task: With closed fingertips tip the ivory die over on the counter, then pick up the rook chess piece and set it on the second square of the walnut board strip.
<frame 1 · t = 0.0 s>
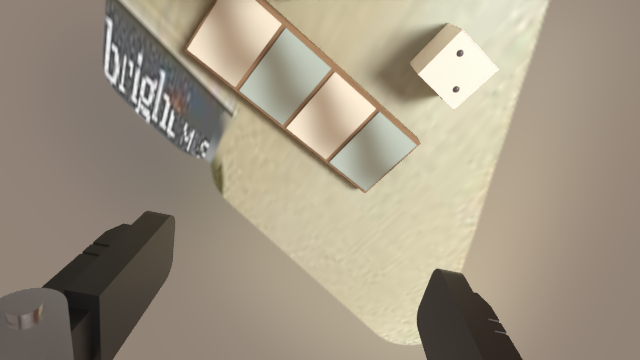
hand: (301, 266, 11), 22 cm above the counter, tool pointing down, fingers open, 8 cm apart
board: (309, 94, 31), on the counter
die: (444, 60, 29), on the counter
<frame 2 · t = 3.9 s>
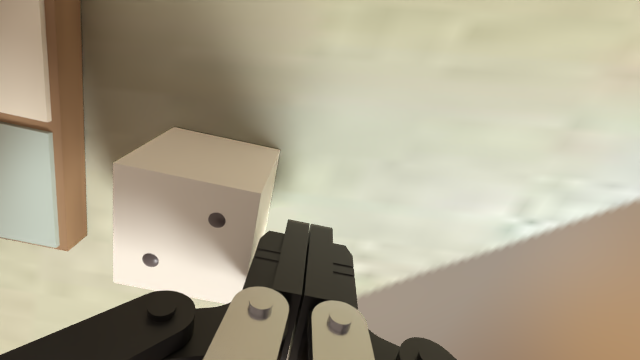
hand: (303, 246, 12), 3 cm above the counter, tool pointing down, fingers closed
die: (221, 186, 14), on the counter, touching gripper
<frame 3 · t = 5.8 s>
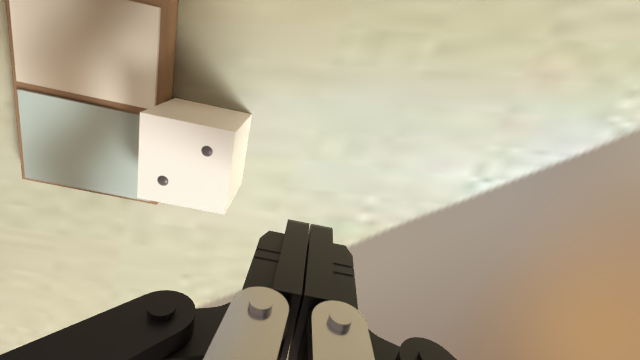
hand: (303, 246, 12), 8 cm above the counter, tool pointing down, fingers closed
die: (210, 141, 19), on the counter
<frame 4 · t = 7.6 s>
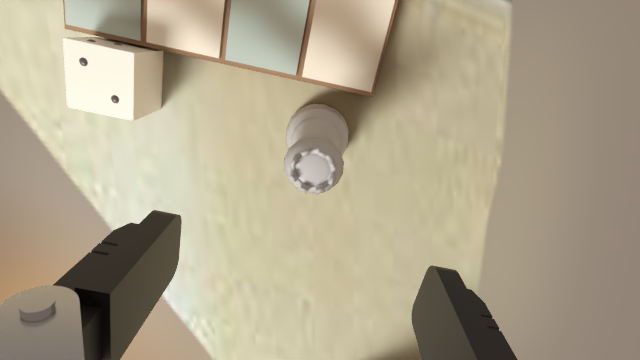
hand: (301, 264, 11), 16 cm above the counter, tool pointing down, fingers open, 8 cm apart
board: (233, 6, 23), on the counter
die: (133, 74, 25), on the counter
rook chess piece: (317, 132, 26), on the counter
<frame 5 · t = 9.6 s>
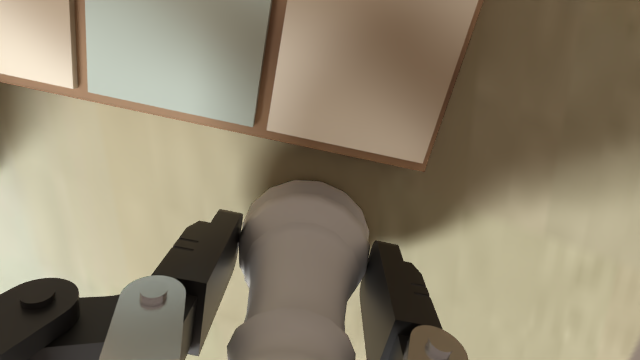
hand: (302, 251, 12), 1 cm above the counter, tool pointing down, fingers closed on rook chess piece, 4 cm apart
rook chess piece: (306, 228, 13), on the counter, touching gripper
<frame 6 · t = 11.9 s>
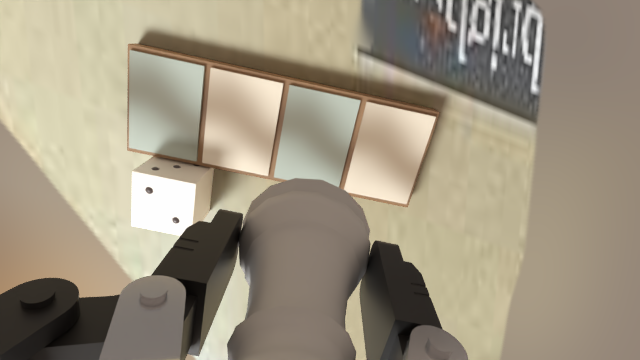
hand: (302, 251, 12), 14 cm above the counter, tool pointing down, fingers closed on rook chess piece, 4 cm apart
board: (280, 127, 25), on the counter
die: (185, 182, 27), on the counter
rook chess piece: (306, 227, 13), point 13 cm above the counter, touching gripper
when the fingers open (4 cm above the counter, at t = 14.1 s): rook chess piece drops 1 cm, resting on board.
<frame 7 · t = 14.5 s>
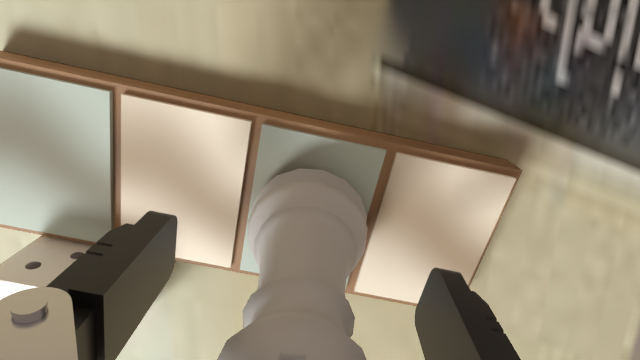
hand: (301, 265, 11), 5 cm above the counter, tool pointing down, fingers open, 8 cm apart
board: (252, 188, 15), on the counter
die: (106, 266, 17), on the counter
rook chess piece: (309, 214, 14), point 1 cm above the counter, touching board
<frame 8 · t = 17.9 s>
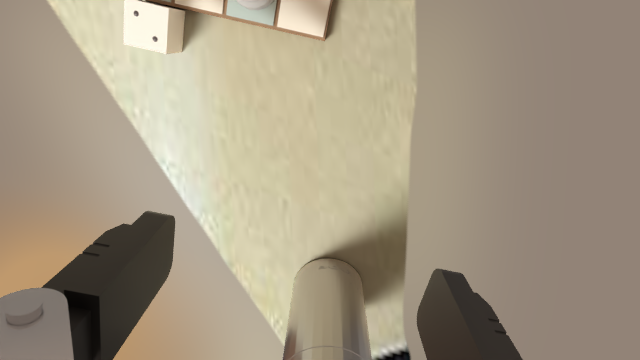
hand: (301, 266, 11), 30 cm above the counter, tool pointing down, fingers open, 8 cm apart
die: (164, 27, 37), on the counter
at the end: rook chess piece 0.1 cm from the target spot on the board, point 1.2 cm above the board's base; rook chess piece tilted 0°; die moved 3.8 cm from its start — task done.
